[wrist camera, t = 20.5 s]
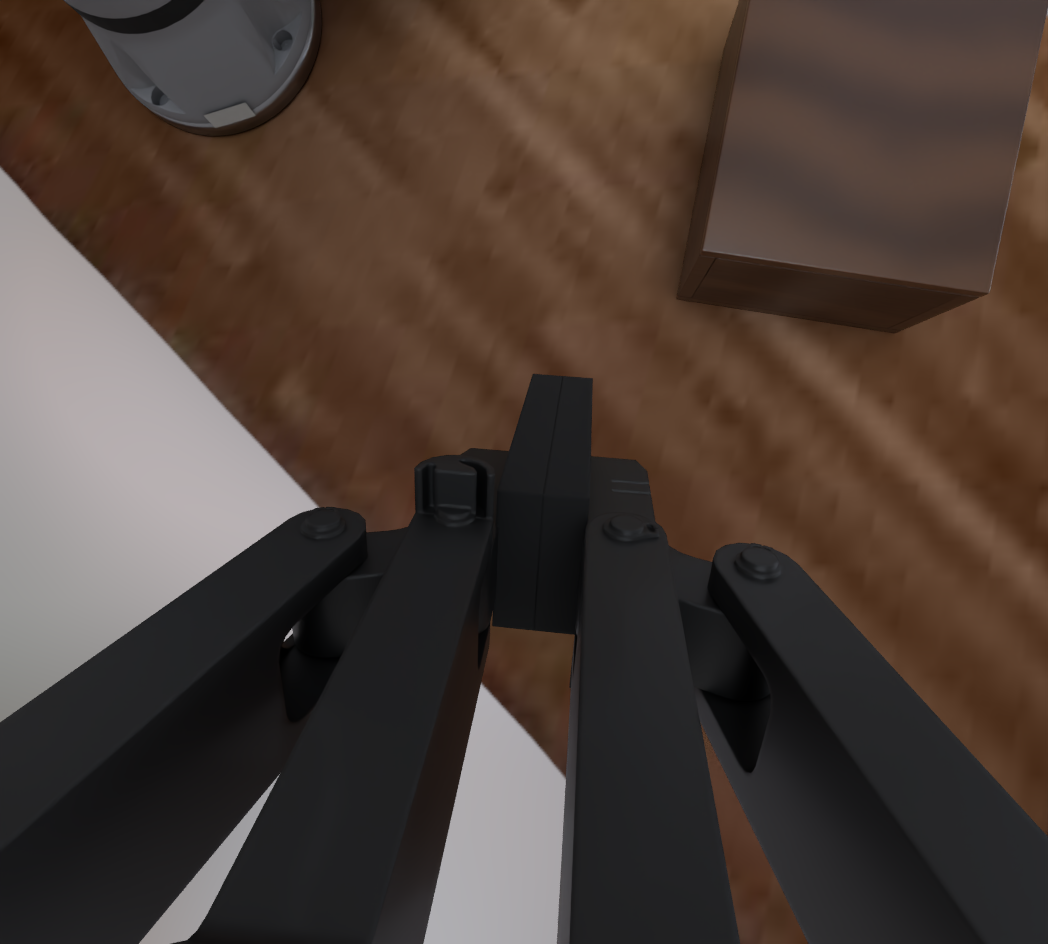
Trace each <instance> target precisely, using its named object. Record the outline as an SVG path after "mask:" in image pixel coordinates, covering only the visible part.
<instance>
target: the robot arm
mask: <svg viewBox="0 0 1048 944" xmlns="http://www.w3.org/2000/svg"><path fill="white" fill-rule="evenodd" d="M64 1H65V2H66V3H67V4H68V5H70V6H71V7H72V8H73V9H74V10H75V11H76V12H78V13H79V14H80V15H81V16H82V18H83V20H84V21H85V23H86V25H87V26H88V28H89V29H90V31H91V33H92V34H93V36H94V38H95V39H96V41H97V43H98V44H99V46H100V48H101V49H102V51H103V52H104V54H105V56H106V57H107V59H108V61H109V62H110V64H111V66H112V67H113V69H114V71H115V72H116V74H117V75H118V77H119V78H120V80H121V81H122V82H123V84H124V85H125V86H126V88H127V89H128V90H129V91H130V93H131V94H132V95H133V96H134V97H135V98H136V99H137V100H138V101H140V102H141V103H142V104H143V105H145V106H146V107H147V108H148V109H150V110H151V111H152V112H153V113H155V114H156V115H157V116H158V117H160V118H161V119H163V120H164V121H166V122H167V123H169V124H171V125H173V126H174V127H176V128H179V129H181V130H184V131H187V132H191V133H194V134H200V135H208V136H222V135H230V134H236V133H239V132H243V131H246V130H249V129H252V128H254V127H256V126H258V125H260V124H262V123H264V122H266V121H267V120H269V119H270V118H272V117H273V116H275V115H276V114H277V113H279V112H280V111H281V110H282V109H283V108H284V107H285V106H286V105H288V104H289V102H290V101H291V100H292V99H293V98H294V97H295V96H296V94H297V93H298V92H299V90H300V89H301V88H302V86H303V84H304V83H305V81H306V79H307V78H308V76H309V73H310V71H311V69H312V67H313V64H314V62H315V59H316V56H317V52H318V49H319V44H320V38H321V28H322V15H321V5H320V0H64ZM592 384H593V378H580V377H566V376H553V375H540V374H533V376H532V379H531V382H530V385H529V389H528V392H527V395H526V398H525V401H524V405H523V408H522V411H521V414H520V418H519V421H518V424H517V427H516V431H515V434H514V437H513V440H512V443H511V447H510V450H509V451H500V450H488V449H477V448H470V449H469V450H467V451H466V452H464V453H462V454H461V455H445V456H438V457H432V458H430V459H427V460H425V461H422V462H420V463H419V464H418V465H417V466H416V467H415V468H414V471H415V510H416V513H415V514H414V516H413V518H412V520H411V522H410V524H409V526H408V527H405V528H402V529H397V530H390V531H380V532H368V533H366V523H365V519H364V518H363V517H362V516H361V515H360V514H359V513H356V512H353V511H351V510H348V509H341V508H336V507H326V508H324V507H321V508H315V509H313V510H310V511H306V512H302V513H300V514H298V515H296V516H294V517H292V518H290V519H288V520H287V521H285V522H284V523H283V524H281V525H280V526H279V527H277V528H276V529H274V530H273V531H271V532H270V533H268V534H267V535H266V536H264V537H263V538H261V539H260V540H258V541H257V542H256V543H254V544H253V545H251V546H250V547H249V548H247V549H246V550H244V551H243V552H242V553H240V554H239V555H237V556H236V557H234V558H233V559H232V560H230V561H229V562H227V563H226V564H225V565H223V566H222V567H220V568H219V569H217V570H216V571H214V572H213V573H212V574H210V575H209V576H207V577H206V578H205V579H203V580H202V581H200V582H199V583H198V584H196V585H195V586H193V587H192V588H190V589H189V590H188V591H186V592H185V593H183V594H182V595H180V596H179V597H178V598H176V599H175V600H173V601H172V602H170V603H169V604H168V605H166V606H165V607H163V608H162V609H161V610H159V611H158V612H156V613H155V614H153V615H152V616H151V617H149V618H148V619H146V620H145V621H143V622H142V623H141V624H139V625H138V626H136V627H135V628H134V629H132V630H131V631H129V632H128V633H127V634H125V635H124V636H122V637H121V638H120V639H118V640H117V641H115V642H114V643H112V644H111V645H109V646H108V647H107V648H105V649H104V650H102V651H101V652H99V653H98V654H97V655H95V656H94V657H92V658H91V659H90V660H88V661H87V662H85V663H84V664H82V665H81V666H80V667H78V668H77V669H75V670H74V671H73V672H71V673H70V674H68V675H67V676H65V677H64V678H63V679H61V680H60V681H58V682H57V683H56V684H54V685H53V686H52V687H50V688H49V689H47V690H46V691H44V692H43V693H41V694H40V695H39V696H37V697H36V698H34V699H33V700H32V701H30V702H29V703H27V704H26V705H24V706H23V707H22V708H20V709H19V710H17V711H16V712H14V713H13V714H12V715H10V716H9V717H7V718H6V719H4V720H3V721H2V722H0V944H139V943H140V941H141V940H142V939H143V938H144V937H145V935H146V934H147V933H148V932H149V930H150V929H151V928H152V927H153V926H154V924H155V923H156V922H157V921H158V920H159V918H160V917H161V916H162V915H163V913H164V912H165V911H166V910H167V909H168V908H169V906H170V905H171V904H172V903H173V902H174V900H175V899H176V898H177V897H178V896H179V894H180V893H181V892H182V891H183V890H184V888H185V887H186V886H187V885H188V884H189V882H190V881H191V880H192V879H193V878H194V876H195V875H196V874H197V873H198V871H199V870H200V869H201V868H202V867H203V865H204V864H205V863H206V862H207V861H208V860H209V858H210V857H211V856H212V855H213V853H214V852H215V851H216V850H217V849H218V847H219V846H220V845H221V844H222V843H223V841H224V840H225V839H226V838H227V837H228V835H229V834H230V833H231V832H232V831H233V829H234V828H235V827H236V826H237V824H238V823H239V822H240V821H241V820H242V819H243V817H244V816H245V815H246V814H247V813H248V811H249V810H250V809H251V808H252V807H253V805H254V804H255V803H256V801H258V799H259V798H260V797H261V795H263V793H264V792H265V791H266V790H267V789H268V787H269V786H270V785H271V784H272V783H273V781H274V780H275V779H276V778H277V776H278V775H279V774H280V775H279V777H278V779H277V781H276V783H275V785H274V787H273V789H272V791H271V792H270V794H269V796H268V798H267V800H266V802H265V804H264V806H263V808H262V810H261V812H260V814H259V816H258V818H257V819H256V821H255V823H254V825H253V827H252V829H251V831H250V833H249V835H248V837H247V839H246V841H245V843H244V844H243V847H242V848H241V850H240V852H239V854H238V856H237V858H236V860H235V862H234V864H233V866H232V868H231V870H230V871H229V873H228V875H227V877H226V879H225V881H224V883H223V885H222V887H221V889H220V891H219V893H218V895H217V897H216V899H215V901H214V902H213V904H212V906H211V908H210V910H209V912H208V914H207V916H206V917H205V919H204V920H203V922H202V924H201V925H200V927H199V929H198V930H197V931H196V932H195V933H194V934H193V935H192V936H191V937H190V938H189V939H188V940H186V941H181V942H177V943H172V944H423V942H424V938H425V933H426V929H427V924H428V920H429V915H430V911H431V906H432V902H433V897H434V893H435V888H436V883H437V879H438V875H439V870H440V866H441V861H442V857H443V852H444V847H445V843H446V839H447V834H448V829H449V825H450V820H451V816H452V811H453V807H454V802H455V797H456V793H457V789H458V784H459V780H460V775H461V771H462V766H463V762H464V757H465V753H466V748H467V743H468V739H469V735H470V730H471V726H472V721H473V717H474V712H475V708H476V703H477V698H478V694H479V689H480V685H481V680H482V676H483V671H484V667H485V662H486V658H487V653H488V649H489V641H490V620H491V616H492V611H493V623H492V626H497V627H506V628H516V629H526V630H535V631H545V632H555V633H564V634H574V635H575V637H574V647H573V657H572V667H571V677H570V687H569V688H571V697H570V715H569V733H568V752H567V770H566V788H565V808H564V825H563V844H562V862H561V880H560V898H559V916H558V934H557V944H740V940H739V935H738V929H737V924H736V918H735V912H734V907H733V901H732V896H731V890H730V885H729V879H728V874H727V868H726V863H725V857H724V851H723V846H722V840H721V835H720V829H719V824H718V818H717V813H716V807H715V802H714V796H713V791H712V785H711V779H710V774H709V768H708V763H707V757H706V752H705V746H704V741H703V735H702V730H701V724H702V726H703V728H704V730H705V732H706V734H707V736H708V739H709V741H710V743H711V745H712V747H713V749H714V751H715V753H716V755H717V757H718V759H719V761H720V763H721V765H722V767H723V769H724V771H725V773H726V775H727V777H728V780H729V782H730V784H731V786H732V788H733V790H734V792H735V794H736V796H737V798H738V800H739V802H740V804H741V806H742V808H743V810H744V812H745V814H746V816H747V818H748V821H749V823H750V825H751V827H752V829H753V831H754V833H755V835H756V837H757V839H758V841H759V843H760V845H761V847H762V849H763V851H764V853H765V855H766V857H767V859H768V861H769V864H770V866H771V868H772V870H773V872H774V874H775V876H776V878H777V880H778V882H779V884H780V886H781V888H782V890H783V892H784V894H785V896H786V898H787V900H788V902H789V905H790V907H791V909H792V911H793V913H794V915H795V917H796V919H797V921H798V923H799V925H800V927H801V929H802V931H803V933H804V935H805V937H806V939H807V941H808V943H809V944H1048V837H1047V835H1046V834H1045V833H1044V832H1043V831H1042V830H1041V829H1040V828H1039V827H1038V826H1037V825H1036V823H1035V822H1034V821H1033V820H1032V819H1031V818H1030V817H1029V816H1028V815H1027V814H1026V812H1025V811H1024V810H1023V809H1022V808H1021V807H1020V806H1019V805H1018V804H1017V803H1016V802H1015V800H1014V799H1013V798H1012V797H1011V796H1010V795H1009V794H1008V793H1007V792H1006V791H1005V790H1004V788H1003V787H1002V786H1001V785H1000V784H999V783H998V782H997V781H996V780H995V779H994V778H993V776H992V775H991V774H990V773H989V772H988V771H987V770H986V769H985V768H984V767H983V766H982V764H981V763H980V762H979V761H978V760H977V759H976V758H975V757H974V756H973V755H972V754H971V752H970V751H969V750H968V749H967V748H966V747H965V746H964V745H963V744H962V743H961V742H960V740H959V739H958V738H957V737H956V736H955V735H954V734H953V733H952V732H951V731H950V730H949V728H948V727H947V726H946V725H945V724H944V723H943V722H942V721H941V720H940V719H939V718H938V716H937V715H936V714H935V713H934V712H933V711H932V710H931V709H930V708H929V707H928V706H927V704H926V703H925V702H924V701H923V700H922V699H921V698H920V697H919V696H918V695H917V693H916V692H915V691H914V690H913V689H912V688H911V687H910V686H909V685H908V684H907V683H906V681H905V680H904V679H903V678H902V677H901V676H900V675H899V674H898V673H897V672H896V671H895V669H894V668H893V667H892V666H891V665H890V664H889V663H888V662H887V661H886V660H885V659H884V657H883V656H882V655H881V654H880V653H879V652H878V651H877V650H876V649H875V648H874V647H873V645H872V644H871V643H870V642H869V641H868V640H867V639H866V638H865V637H864V636H863V635H862V633H861V632H860V631H859V630H858V629H857V628H856V627H855V626H854V625H853V624H852V623H851V621H850V620H849V619H848V618H847V617H846V616H845V615H844V614H843V613H842V612H841V611H840V609H839V608H838V607H837V606H836V605H835V604H834V603H833V602H832V601H831V600H830V599H829V597H828V596H827V595H826V594H825V593H824V592H823V591H822V590H821V589H820V588H819V586H818V585H817V584H816V583H815V582H814V581H813V580H812V579H811V578H810V577H809V576H808V574H807V573H806V572H805V571H804V570H803V569H802V568H801V567H800V566H799V565H798V564H797V563H796V562H795V561H793V560H792V559H791V558H790V557H788V556H787V555H785V554H783V553H781V552H779V551H776V550H774V549H773V548H771V547H768V546H761V545H760V544H755V543H751V544H747V543H736V544H729V545H725V546H723V547H721V548H720V549H718V550H716V553H715V555H714V557H713V562H709V561H706V560H702V559H698V558H695V557H692V556H689V555H686V554H683V553H681V552H679V551H677V550H675V549H673V548H671V547H670V546H669V545H668V541H667V536H666V533H665V532H664V530H663V528H662V527H661V526H660V525H659V524H657V523H656V522H655V517H654V511H653V504H652V498H651V495H650V493H651V492H650V486H649V480H648V473H647V471H646V470H645V469H644V468H643V467H642V466H641V465H640V464H639V463H638V462H637V461H636V460H628V459H616V458H605V457H593V456H591V427H592ZM291 628H292V629H293V634H292V635H291V636H290V637H289V638H288V639H286V641H284V639H285V637H286V635H287V634H288V633H289V631H290V630H291ZM700 722H701V724H700Z"/></svg>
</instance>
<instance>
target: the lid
mask: <svg viewBox="0 0 1048 944" xmlns="http://www.w3.org/2000/svg"><path fill="white" fill-rule="evenodd" d="M1047 9H1048V0H748V1H747V6H746V11H745V17H744V22H743V27H742V32H741V38H740V43H739V48H738V54H737V59H736V64H735V69H734V75H733V80H732V85H731V91H730V96H729V101H728V106H727V112H726V117H725V122H724V128H723V133H722V138H721V143H720V149H719V154H718V159H717V165H716V170H715V175H714V180H713V186H712V191H711V196H710V202H709V207H708V212H707V217H706V223H705V228H704V233H703V239H702V244H701V249H700V255H701V256H708V257H715V258H721V259H728V260H735V261H741V262H748V263H755V264H762V265H768V266H775V267H782V268H788V269H795V270H802V271H809V272H815V273H822V274H829V275H835V276H842V277H849V278H856V279H862V280H869V281H876V282H882V283H889V284H896V285H903V286H909V287H916V288H923V289H929V290H936V291H943V292H950V293H956V294H963V295H970V296H976V297H982V296H984V295H987V294H989V292H990V288H991V283H992V278H993V273H994V268H995V263H996V259H997V254H998V249H999V244H1000V239H1001V234H1002V229H1003V224H1004V219H1005V214H1006V210H1007V205H1008V200H1009V195H1010V190H1011V185H1012V180H1013V175H1014V170H1015V165H1016V161H1017V156H1018V151H1019V146H1020V141H1021V136H1022V131H1023V126H1024V121H1025V117H1026V112H1027V107H1028V102H1029V97H1030V92H1031V87H1032V82H1033V77H1034V72H1035V68H1036V63H1037V58H1038V53H1039V48H1040V43H1041V38H1042V33H1043V28H1044V23H1045V19H1046V14H1047Z"/></svg>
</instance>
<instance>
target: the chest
mask: <svg viewBox="0 0 1048 944" xmlns="http://www.w3.org/2000/svg"><path fill="white" fill-rule="evenodd" d="M747 1H748V0H739V2H738V6H737V9H736V12H735V15H734V18H733V21H732V24H731V27H730V31H729V34H728V37H727V40H726V43H725V46H724V49H723V55H722V60H721V65H720V71H719V76H718V81H717V87H716V92H715V97H714V102H713V108H712V113H711V118H710V124H709V129H708V134H707V140H706V145H705V150H704V156H703V161H702V166H701V171H700V177H699V182H698V187H697V193H696V198H695V203H694V209H693V214H692V219H691V224H690V230H689V235H688V240H687V246H686V251H685V256H684V262H683V267H682V272H681V277H680V283H679V288H678V293H677V299H680V300H686V301H693V302H699V303H705V304H712V305H718V306H725V307H731V308H738V309H744V310H750V311H757V312H763V313H770V314H776V315H782V316H789V317H795V318H802V319H808V320H814V321H821V322H827V323H834V324H840V325H847V326H853V327H859V328H866V329H872V330H879V331H885V332H891V333H897V332H899V331H901V330H904V329H906V328H908V327H911V326H913V325H915V324H918V323H920V322H923V321H925V320H927V319H930V318H932V317H934V316H937V315H939V314H941V313H944V312H946V311H949V310H951V309H953V308H956V307H958V306H960V305H963V304H965V303H968V302H970V301H972V300H975V299H977V298H979V297H976V296H970V295H963V294H956V293H950V292H943V291H936V290H929V289H923V288H916V287H909V286H903V285H896V284H889V283H882V282H876V281H869V280H862V279H856V278H849V277H842V276H835V275H829V274H822V273H815V272H809V271H802V270H795V269H788V268H782V267H775V266H768V265H762V264H755V263H748V262H741V261H735V260H728V259H721V258H715V257H708V256H701V255H700V249H701V244H702V239H703V233H704V228H705V223H706V217H707V212H708V207H709V202H710V196H711V191H712V186H713V180H714V175H715V170H716V165H717V159H718V154H719V149H720V143H721V138H722V133H723V128H724V122H725V117H726V112H727V106H728V101H729V96H730V91H731V85H732V80H733V75H734V69H735V64H736V59H737V54H738V48H739V43H740V38H741V32H742V27H743V22H744V17H745V11H746V6H747Z"/></svg>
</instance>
